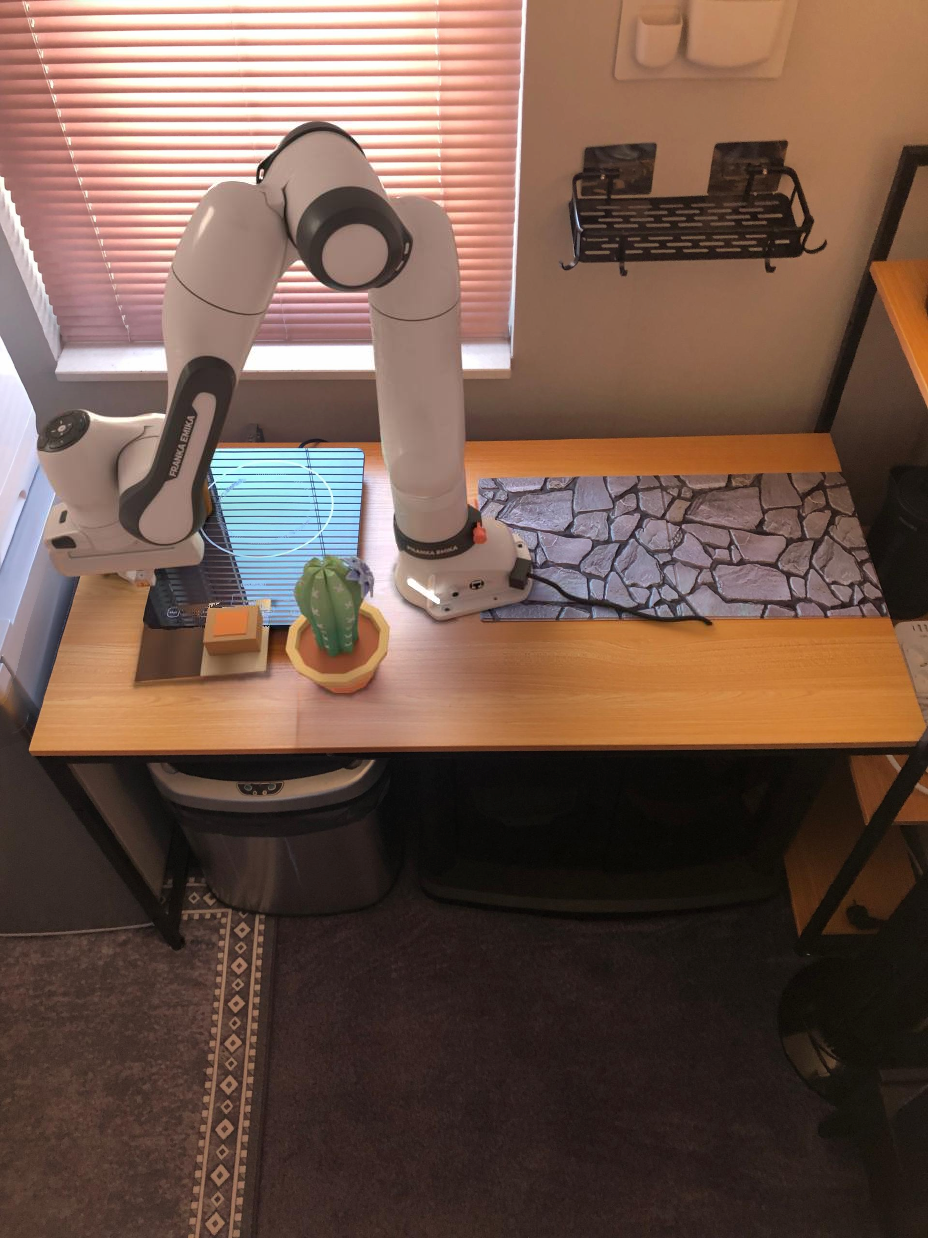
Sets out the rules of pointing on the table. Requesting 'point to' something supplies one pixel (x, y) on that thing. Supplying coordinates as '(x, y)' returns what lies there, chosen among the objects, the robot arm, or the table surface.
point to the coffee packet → (233, 630)
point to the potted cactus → (337, 625)
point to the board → (193, 651)
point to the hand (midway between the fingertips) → (145, 583)
